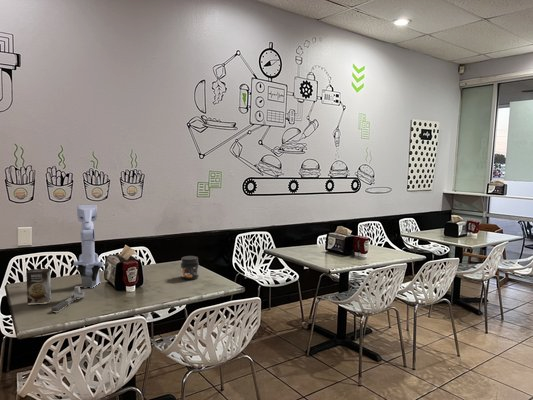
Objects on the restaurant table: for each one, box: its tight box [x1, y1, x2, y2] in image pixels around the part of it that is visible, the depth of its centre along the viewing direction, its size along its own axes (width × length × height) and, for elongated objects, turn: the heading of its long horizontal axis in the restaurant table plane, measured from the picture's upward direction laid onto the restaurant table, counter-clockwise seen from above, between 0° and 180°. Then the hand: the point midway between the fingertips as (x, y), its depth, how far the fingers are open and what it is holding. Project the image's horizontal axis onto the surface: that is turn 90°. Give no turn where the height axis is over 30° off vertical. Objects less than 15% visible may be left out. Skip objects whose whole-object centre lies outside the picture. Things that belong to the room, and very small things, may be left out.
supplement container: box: [180, 255, 200, 281], centre depth 240 cm, size 10×10×12 cm
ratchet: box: [51, 285, 85, 312], centre depth 196 cm, size 23×6×6 cm, turn 176°
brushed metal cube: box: [80, 272, 96, 289], centre depth 204 cm, size 5×5×6 cm
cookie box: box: [25, 268, 52, 303], centre depth 196 cm, size 9×6×16 cm
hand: (89, 280), depth 205 cm, fingers closed on brushed metal cube, 5 cm apart
